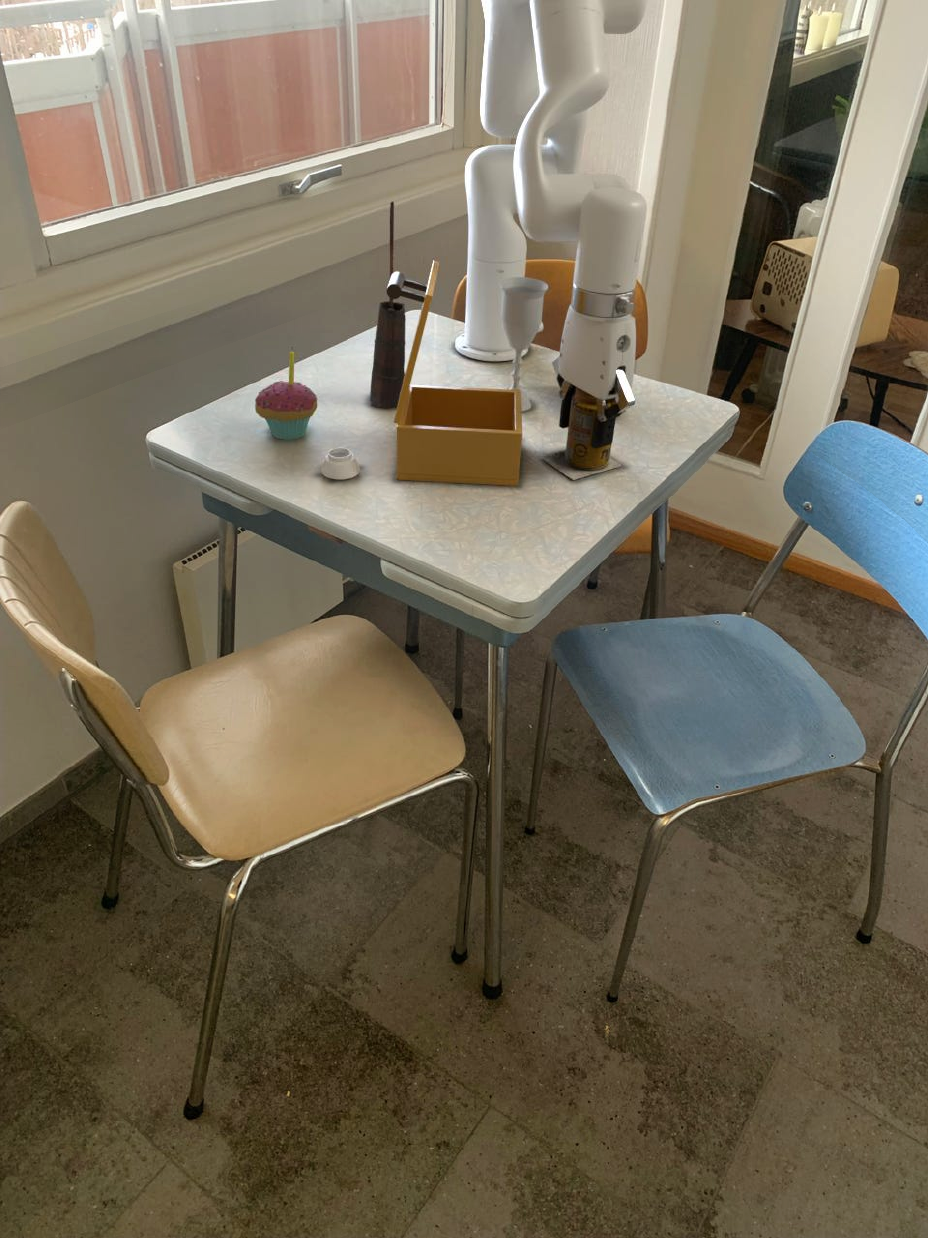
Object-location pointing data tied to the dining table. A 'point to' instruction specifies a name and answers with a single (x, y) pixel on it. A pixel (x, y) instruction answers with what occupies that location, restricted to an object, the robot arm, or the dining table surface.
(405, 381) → the lid
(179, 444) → the dining table surface
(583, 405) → the condiment
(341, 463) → the white jar
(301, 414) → the cupcake
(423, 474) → the open wooden box
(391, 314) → the butter churn
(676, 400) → the dining table surface
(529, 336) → the chalice
